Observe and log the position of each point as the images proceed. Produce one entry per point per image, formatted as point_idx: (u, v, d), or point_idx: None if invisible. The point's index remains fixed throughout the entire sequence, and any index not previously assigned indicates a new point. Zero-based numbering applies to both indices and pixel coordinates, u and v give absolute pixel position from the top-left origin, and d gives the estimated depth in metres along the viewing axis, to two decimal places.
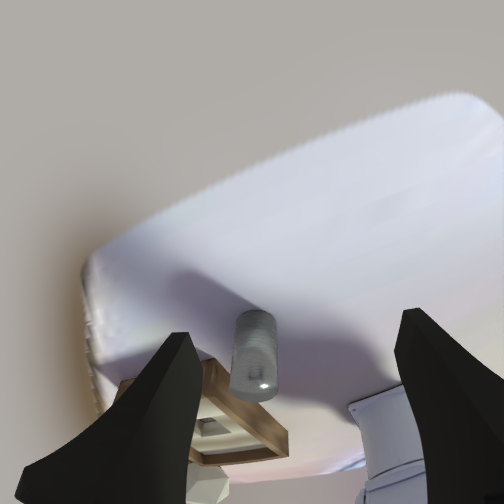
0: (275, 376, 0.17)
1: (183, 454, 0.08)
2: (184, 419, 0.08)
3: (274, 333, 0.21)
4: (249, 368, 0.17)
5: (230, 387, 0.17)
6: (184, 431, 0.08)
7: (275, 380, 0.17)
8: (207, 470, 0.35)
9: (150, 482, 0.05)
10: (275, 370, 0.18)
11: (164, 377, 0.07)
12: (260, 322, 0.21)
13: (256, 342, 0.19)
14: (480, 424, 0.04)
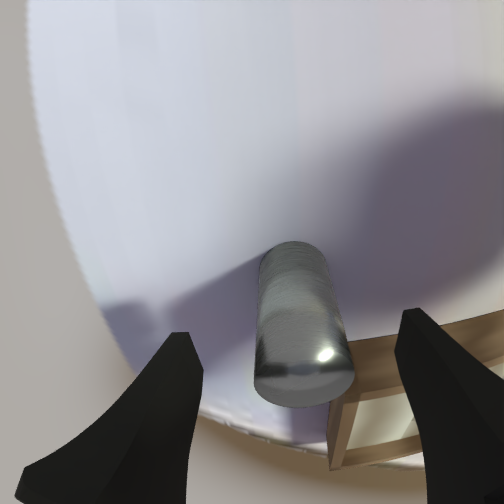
0: (301, 335, 0.08)
1: (183, 454, 0.08)
2: (184, 419, 0.08)
3: (293, 261, 0.11)
4: (255, 361, 0.09)
5: (278, 404, 0.09)
6: (184, 431, 0.08)
7: (302, 342, 0.08)
8: None
9: (150, 482, 0.05)
10: (300, 322, 0.09)
11: (164, 377, 0.07)
12: (265, 271, 0.12)
13: (260, 307, 0.10)
14: (480, 424, 0.04)
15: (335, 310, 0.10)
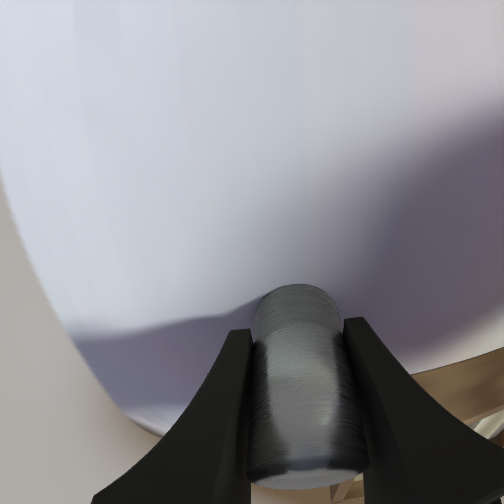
0: (307, 433, 0.05)
1: None
2: None
3: (296, 316, 0.09)
4: (248, 451, 0.06)
5: (276, 488, 0.06)
6: None
7: (308, 443, 0.05)
8: None
9: (233, 491, 0.05)
10: (306, 412, 0.06)
11: (238, 377, 0.07)
12: (261, 324, 0.10)
13: (255, 377, 0.08)
14: (396, 452, 0.04)
15: (349, 385, 0.07)
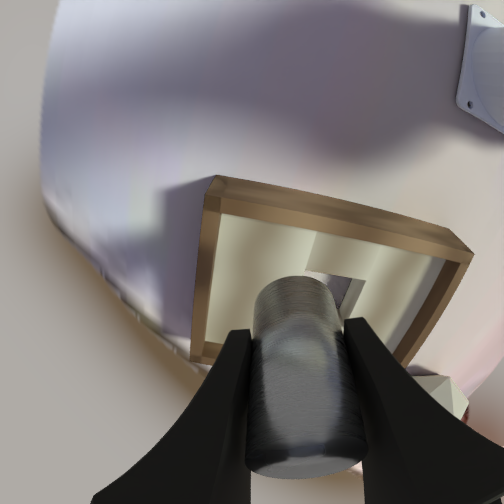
0: (298, 417, 0.06)
1: None
2: None
3: (290, 306, 0.09)
4: (246, 440, 0.06)
5: (280, 477, 0.07)
6: None
7: (299, 428, 0.05)
8: None
9: (233, 491, 0.05)
10: (298, 397, 0.06)
11: (238, 377, 0.07)
12: (258, 317, 0.10)
13: (252, 367, 0.08)
14: (396, 452, 0.04)
15: (344, 370, 0.07)
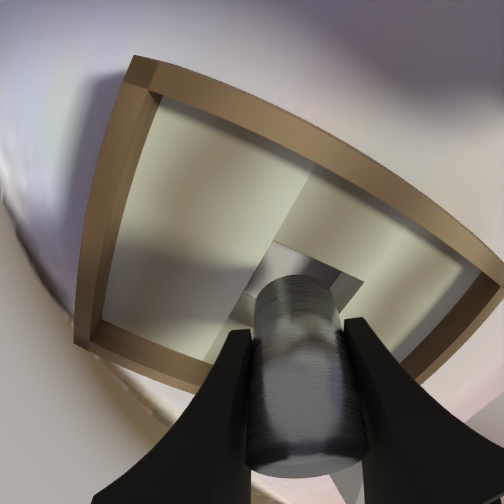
0: (297, 415, 0.06)
1: None
2: None
3: (289, 305, 0.09)
4: (246, 439, 0.06)
5: (281, 477, 0.07)
6: None
7: (298, 426, 0.05)
8: None
9: (233, 491, 0.05)
10: (297, 395, 0.06)
11: (238, 377, 0.07)
12: (258, 317, 0.10)
13: (252, 367, 0.08)
14: (396, 452, 0.04)
15: (344, 368, 0.07)
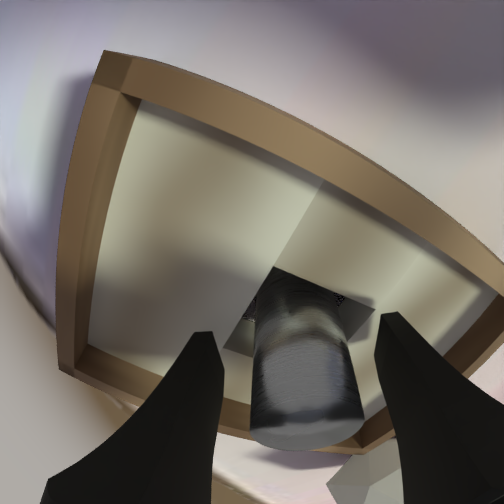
0: (297, 383, 0.07)
1: (208, 456, 0.08)
2: (209, 420, 0.08)
3: (289, 287, 0.10)
4: (250, 410, 0.07)
5: (282, 449, 0.07)
6: (209, 432, 0.08)
7: (298, 392, 0.06)
8: (384, 456, 0.16)
9: (181, 487, 0.05)
10: (297, 366, 0.07)
11: (192, 378, 0.07)
12: (260, 299, 0.11)
13: (255, 344, 0.09)
14: (450, 436, 0.04)
15: (340, 343, 0.08)
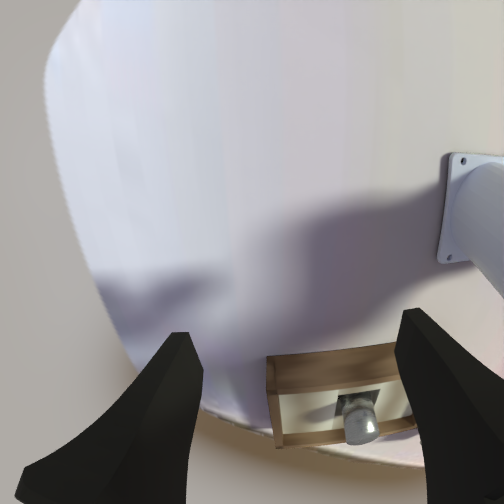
0: (353, 429, 0.21)
1: (183, 454, 0.08)
2: (184, 419, 0.08)
3: (347, 394, 0.25)
4: None
5: (361, 444, 0.22)
6: (184, 431, 0.08)
7: (353, 432, 0.21)
8: None
9: (150, 482, 0.05)
10: (352, 424, 0.22)
11: (164, 377, 0.07)
12: (340, 398, 0.25)
13: (342, 416, 0.24)
14: (480, 424, 0.04)
15: (365, 410, 0.22)
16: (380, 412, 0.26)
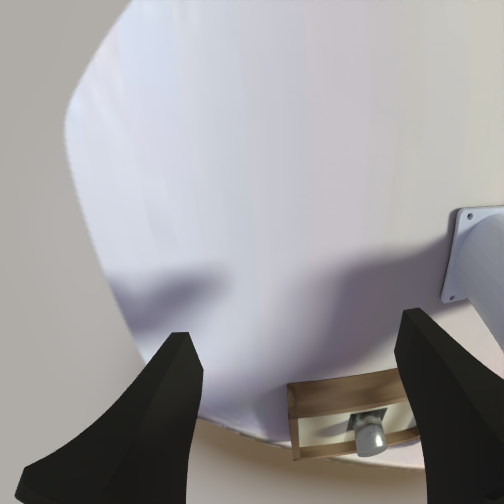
0: (364, 444, 0.23)
1: (183, 454, 0.08)
2: (184, 419, 0.08)
3: None
4: None
5: (370, 455, 0.24)
6: (184, 431, 0.08)
7: (364, 446, 0.23)
8: None
9: (150, 482, 0.05)
10: (363, 439, 0.23)
11: (164, 377, 0.07)
12: (351, 415, 0.27)
13: None
14: (480, 424, 0.04)
15: (374, 427, 0.24)
16: (387, 426, 0.28)
